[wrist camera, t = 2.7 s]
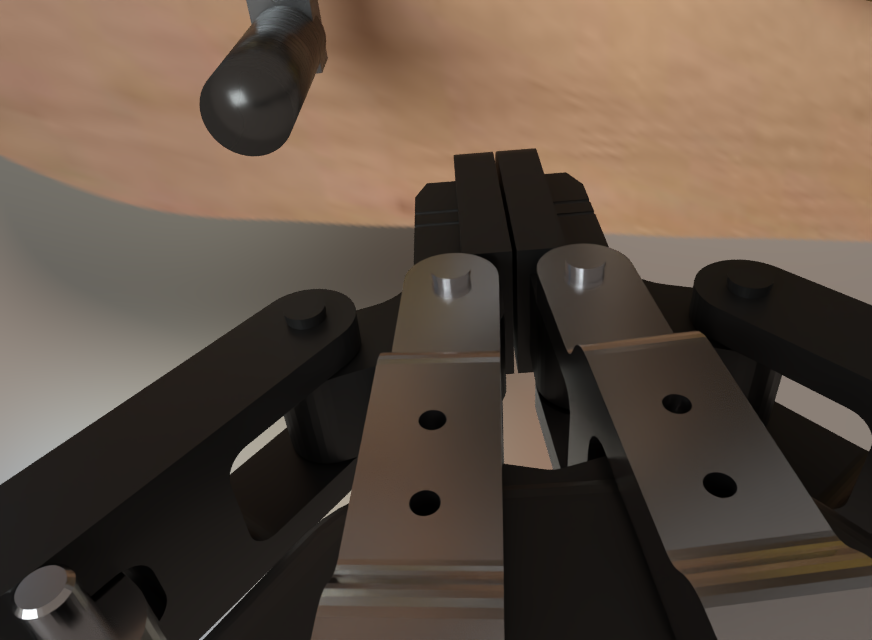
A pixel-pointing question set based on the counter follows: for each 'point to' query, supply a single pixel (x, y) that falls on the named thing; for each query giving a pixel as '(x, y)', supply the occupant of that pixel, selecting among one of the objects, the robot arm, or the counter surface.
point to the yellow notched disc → (265, 77)
